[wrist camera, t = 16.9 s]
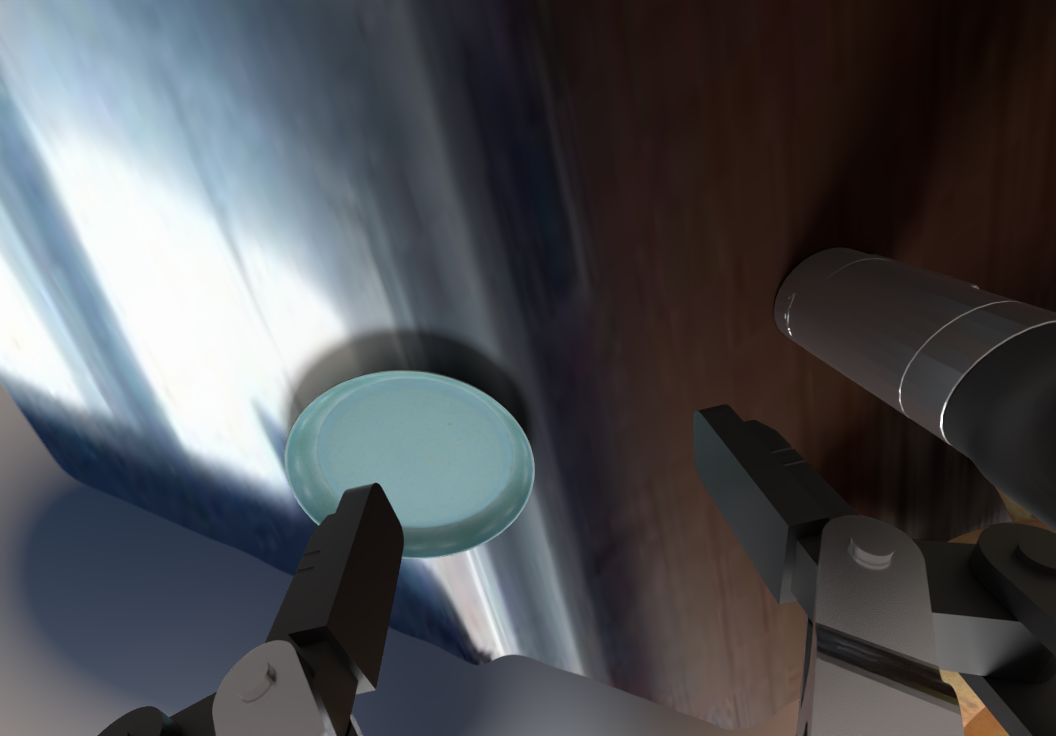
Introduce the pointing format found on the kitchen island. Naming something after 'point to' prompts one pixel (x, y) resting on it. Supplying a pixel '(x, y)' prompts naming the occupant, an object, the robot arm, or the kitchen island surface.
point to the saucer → (414, 457)
